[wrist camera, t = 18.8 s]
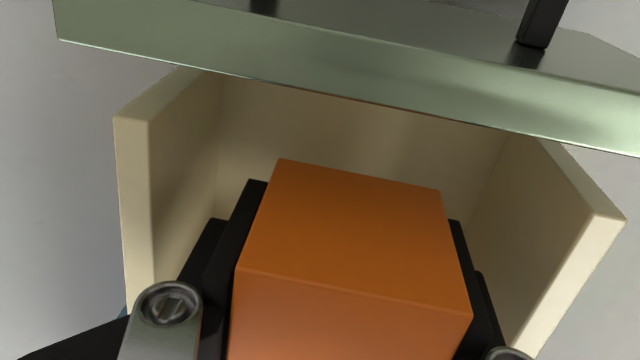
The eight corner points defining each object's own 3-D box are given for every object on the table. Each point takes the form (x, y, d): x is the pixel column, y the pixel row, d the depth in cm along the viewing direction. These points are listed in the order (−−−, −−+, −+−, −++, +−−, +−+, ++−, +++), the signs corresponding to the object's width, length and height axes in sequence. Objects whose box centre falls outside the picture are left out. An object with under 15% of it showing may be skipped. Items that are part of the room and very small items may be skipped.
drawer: (194, -315, 10) (-37, -636, 4) (706, -208, 10) (1147, -385, 5) (183, 289, 21) (109, 435, 15) (440, 341, 21) (469, 506, 15)
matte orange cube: (260, 276, 14) (220, 410, 10) (278, 156, 12) (233, 268, 8) (397, 304, 14) (407, 446, 10) (440, 189, 12) (476, 316, 8)
